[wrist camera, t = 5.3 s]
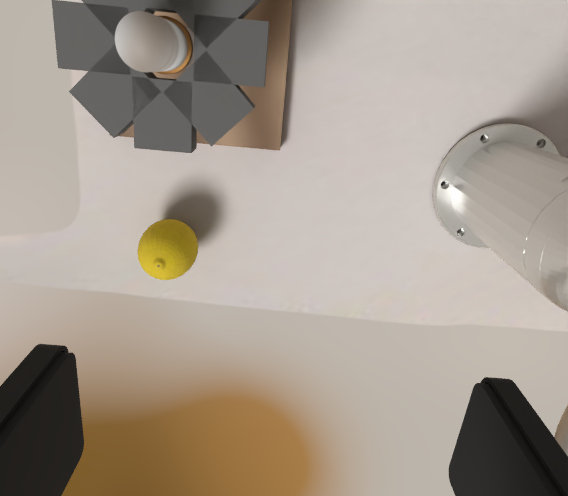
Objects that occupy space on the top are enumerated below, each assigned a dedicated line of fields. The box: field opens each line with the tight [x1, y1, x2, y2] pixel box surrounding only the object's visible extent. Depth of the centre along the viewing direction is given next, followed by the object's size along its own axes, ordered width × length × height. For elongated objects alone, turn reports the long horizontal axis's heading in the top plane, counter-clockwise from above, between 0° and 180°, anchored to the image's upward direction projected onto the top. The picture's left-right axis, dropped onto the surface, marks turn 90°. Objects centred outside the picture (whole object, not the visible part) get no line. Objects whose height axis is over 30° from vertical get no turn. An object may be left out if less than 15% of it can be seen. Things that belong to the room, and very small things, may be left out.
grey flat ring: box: [52, 0, 269, 153], centre depth 29 cm, size 13×13×2 cm
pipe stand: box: [110, 0, 293, 150], centre depth 33 cm, size 16×16×18 cm
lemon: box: [138, 219, 198, 280], centre depth 44 cm, size 6×6×8 cm
